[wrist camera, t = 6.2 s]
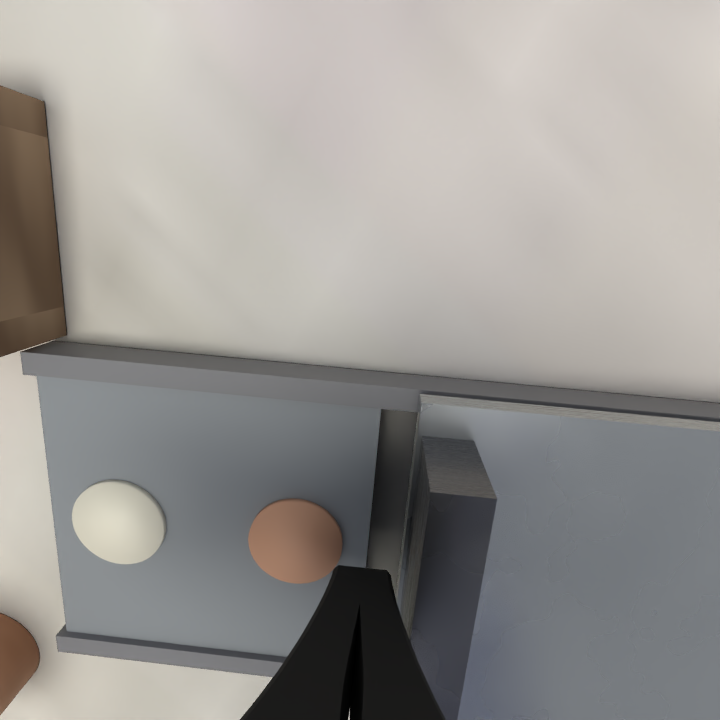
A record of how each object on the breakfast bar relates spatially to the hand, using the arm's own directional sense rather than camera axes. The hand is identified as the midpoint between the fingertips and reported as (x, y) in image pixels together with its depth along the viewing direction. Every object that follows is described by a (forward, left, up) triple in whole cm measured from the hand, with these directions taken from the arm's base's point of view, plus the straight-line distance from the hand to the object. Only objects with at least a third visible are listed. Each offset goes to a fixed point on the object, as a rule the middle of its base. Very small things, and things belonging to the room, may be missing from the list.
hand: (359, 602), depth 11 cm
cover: (0, -6, -2) cm, 6 cm away
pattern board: (0, -2, -3) cm, 4 cm away
